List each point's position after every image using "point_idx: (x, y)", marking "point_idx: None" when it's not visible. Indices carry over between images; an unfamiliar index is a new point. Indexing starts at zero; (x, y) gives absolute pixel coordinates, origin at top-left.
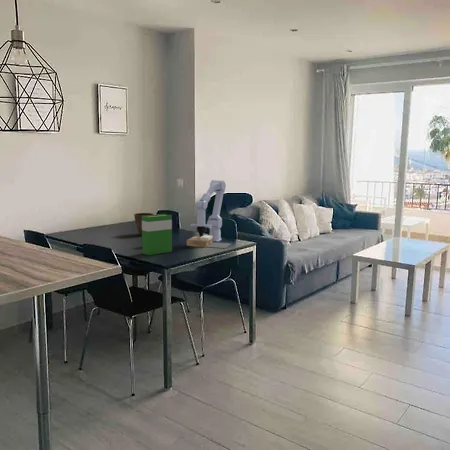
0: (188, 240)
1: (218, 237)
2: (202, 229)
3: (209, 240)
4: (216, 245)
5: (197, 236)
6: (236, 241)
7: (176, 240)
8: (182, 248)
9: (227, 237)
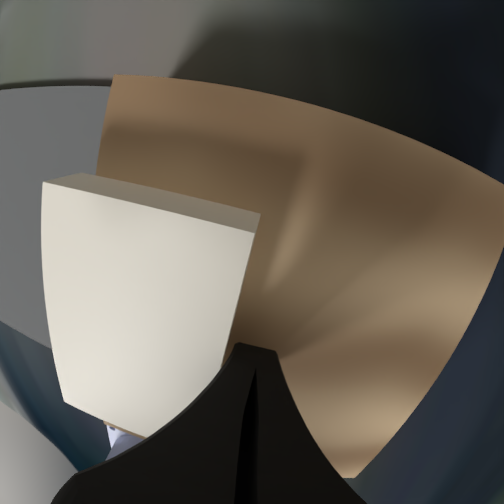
0: (494, 179)
1: (106, 459)
2: (110, 485)
3: None
4: None
5: None
6: (14, 397)
7: (487, 427)
8: (479, 15)
9: None
